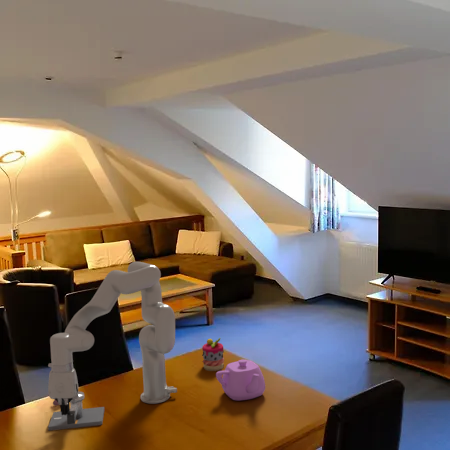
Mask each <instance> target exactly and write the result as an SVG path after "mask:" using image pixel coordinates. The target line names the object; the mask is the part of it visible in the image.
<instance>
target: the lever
mask: <svg viewBox="0 0 450 450" xmlns="http://www.w3.org/2000/svg"><path fill="white" fill-rule="evenodd" d="M78 396H79V397H78V398H77V399H75V400H71V401H70V402H69V405H70V410H69V411H68V413H67V424H75V421H76V418H80V417H82V416H83V409H84V408H83V401H84V400H85V393H84V392H83V391H79V390H78Z"/></svg>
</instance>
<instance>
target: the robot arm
mask: <svg viewBox="0 0 450 450" xmlns="http://www.w3.org/2000/svg"><path fill="white" fill-rule="evenodd" d="M161 276H162V273H161V270H160V269H159V267H158V266H156V265H154V264H151V263H146V262H143V261H142V262H141V261H133V262H131V263H130V264H129V265H128V267H127V271H125V270H124V271H123V270H120V269H114V270H111V271H109V272H108V273H107V275H106V276H105V278H104V279H103V281H102V282H101V284H100V286H99V287H98V288H97V290H96V292H95V294H94V295H93V297H91V300H90V301H89V302H87V304H85V305H84V306H82V308H81V309H79V310H78V311H77V312H76V313H75V314H74V315H73V317H72V318H71V320H70V321H69V322H68V324H67V326H66V327H65V330H64V332H58V333H55V334H53V335H52V336H50V338H49V344H50V359H51V363H50V362H49V363H48V365H47V366H48V367H49V368H50V369H51V370H50V371H49V374H48V383H47V384H48V387H47V388H48V396H49V399H51V400H53V401H54V400H56V401H57V402H58V403H59V409H60V411H61V414H62V415H67V413H68V411H69V410H70V407H71V404H70V401H71V400H75V399H77V398H78V397H79V396H78V391H79V383H78V382H79V381H78V376H77V372H76V369H75V368H74V364H73V362H74V360H73V353H76V352H84V351H88V350H90V349H91V348H92V347H93V346H94V344H95V337H94V335H93V334H92V333H91V332H90V331H89V330H86V329H87V327H88V326H89V325H90V323H91V322H92V321H93V320H95V319H96V318H99V317H102V316H104V315H106V314H108V313H111V310H112V309H113V307H114V306H115V304H116V302H117V300H118V299H119V297H120V295H121V294H122V295H131V294H134V293H137V292H141V293H140V294H141V317H142V320H143V321H145V322H146V323H148V324H149V325H145V326H144V327H142V328H141V329H140V331H139V335H138V343H139V346H140V347H139V348H140V351H141V359H142V364H141V365H142V378H143V379H142V380H143V392H142V393H141V394H140V400H141V402H143V403H145V404H152V405H154V404H160V403H163V402H166V401H168V400H169V399H170V398H171V394H172V393H175V394H176V393H178V388H177V387H174V386H169V385H167V378H166V377H167V376H166V358H165V357H166V356H165V355H166V354H168V353H170V352H172V350H173V349H174V346H175V343H176V315H175V312H174V309H173V308H172V307H171V306H170V305H168V304H166V303H163V294H162V285H161V283H160V280H161ZM64 398H65V400H64Z"/></svg>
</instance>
